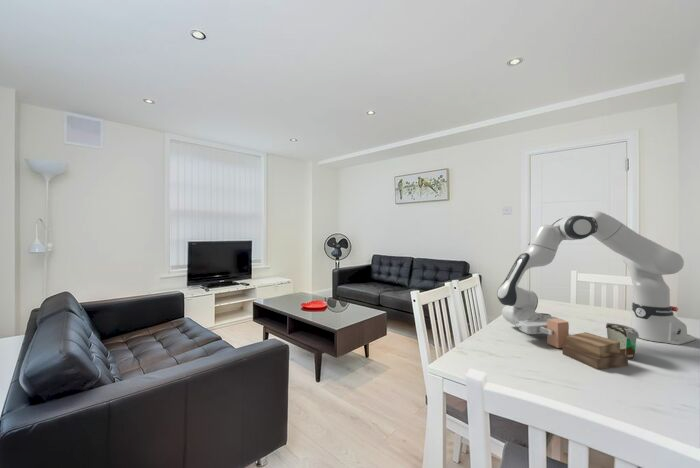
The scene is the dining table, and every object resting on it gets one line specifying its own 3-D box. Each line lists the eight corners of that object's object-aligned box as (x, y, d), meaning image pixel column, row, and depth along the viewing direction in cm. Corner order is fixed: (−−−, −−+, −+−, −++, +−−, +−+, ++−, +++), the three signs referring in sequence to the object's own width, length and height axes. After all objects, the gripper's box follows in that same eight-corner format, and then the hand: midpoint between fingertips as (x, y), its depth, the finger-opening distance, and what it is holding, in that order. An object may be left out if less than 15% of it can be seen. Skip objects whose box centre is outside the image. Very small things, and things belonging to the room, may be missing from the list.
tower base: (590, 352, 115) (590, 342, 115) (628, 367, 102) (627, 355, 102) (562, 355, 112) (562, 345, 112) (597, 371, 99) (597, 359, 99)
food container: (648, 362, 104) (648, 334, 104) (628, 361, 105) (628, 333, 105) (623, 348, 116) (623, 323, 116) (605, 347, 118) (605, 322, 117)
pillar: (557, 342, 122) (557, 318, 122) (568, 346, 117) (568, 322, 117) (547, 343, 121) (547, 319, 121) (558, 348, 116) (557, 322, 116)
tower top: (585, 342, 114) (585, 332, 114) (620, 353, 104) (619, 342, 104) (566, 346, 111) (566, 335, 110) (599, 358, 100) (599, 346, 100)
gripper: (511, 316, 130) (537, 326, 117) (551, 313, 134) (580, 322, 120) (512, 330, 130) (537, 342, 117) (551, 327, 134) (580, 337, 120)
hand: (559, 332), depth 118 cm, fingers closed on pillar, 5 cm apart
